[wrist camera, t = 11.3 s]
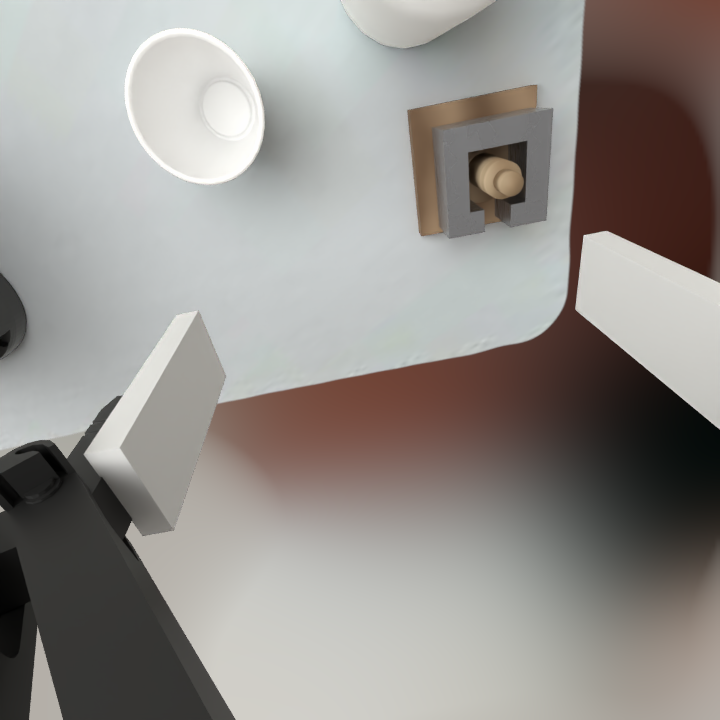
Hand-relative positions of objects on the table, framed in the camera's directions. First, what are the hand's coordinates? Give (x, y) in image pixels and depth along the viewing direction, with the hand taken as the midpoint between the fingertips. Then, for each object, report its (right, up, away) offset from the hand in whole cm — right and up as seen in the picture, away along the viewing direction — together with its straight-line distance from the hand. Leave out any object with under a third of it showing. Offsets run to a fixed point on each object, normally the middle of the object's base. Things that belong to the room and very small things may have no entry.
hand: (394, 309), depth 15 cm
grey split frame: (+11, +16, +26) cm, 32 cm away
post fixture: (+10, +19, +29) cm, 36 cm away
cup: (-14, +22, +26) cm, 37 cm away
